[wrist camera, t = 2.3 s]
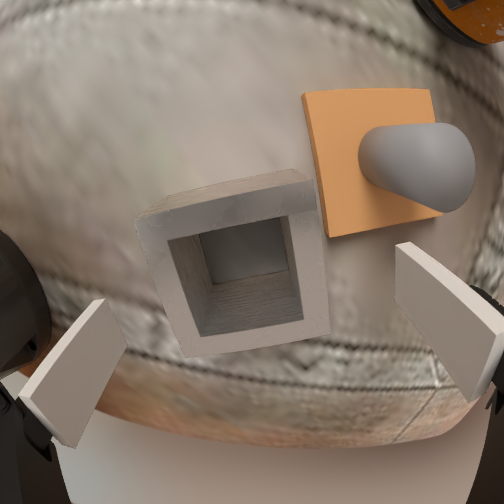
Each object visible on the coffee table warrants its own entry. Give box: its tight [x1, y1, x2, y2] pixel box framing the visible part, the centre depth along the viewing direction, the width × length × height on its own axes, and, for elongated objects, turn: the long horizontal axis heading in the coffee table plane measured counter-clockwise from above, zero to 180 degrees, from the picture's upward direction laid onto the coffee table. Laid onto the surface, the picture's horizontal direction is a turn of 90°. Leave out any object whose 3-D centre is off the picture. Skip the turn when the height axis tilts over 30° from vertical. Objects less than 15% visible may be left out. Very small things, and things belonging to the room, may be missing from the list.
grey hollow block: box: [133, 169, 330, 358], centre depth 16 cm, size 8×8×6 cm
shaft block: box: [301, 88, 476, 238], centre depth 13 cm, size 9×9×8 cm
